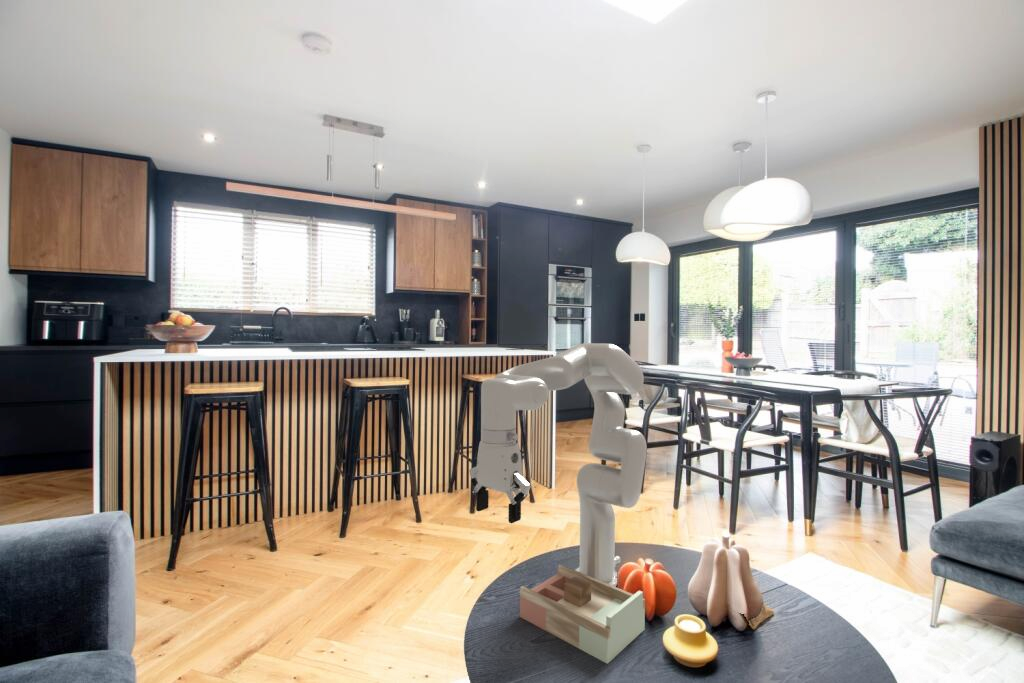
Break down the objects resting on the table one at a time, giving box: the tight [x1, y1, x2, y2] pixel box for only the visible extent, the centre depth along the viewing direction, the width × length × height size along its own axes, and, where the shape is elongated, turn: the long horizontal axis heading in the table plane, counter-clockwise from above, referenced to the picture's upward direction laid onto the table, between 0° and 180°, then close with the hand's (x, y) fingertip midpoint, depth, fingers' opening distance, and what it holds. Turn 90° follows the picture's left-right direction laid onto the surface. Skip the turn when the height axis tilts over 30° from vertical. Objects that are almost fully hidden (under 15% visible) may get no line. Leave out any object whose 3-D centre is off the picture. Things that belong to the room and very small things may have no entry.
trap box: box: [519, 564, 646, 665], centre depth 112 cm, size 16×24×9 cm, turn 47°
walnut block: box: [564, 576, 591, 607], centre depth 113 cm, size 4×4×4 cm
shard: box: [748, 604, 775, 630], centre depth 116 cm, size 11×8×2 cm
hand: (498, 515), depth 103 cm, fingers open, 9 cm apart
